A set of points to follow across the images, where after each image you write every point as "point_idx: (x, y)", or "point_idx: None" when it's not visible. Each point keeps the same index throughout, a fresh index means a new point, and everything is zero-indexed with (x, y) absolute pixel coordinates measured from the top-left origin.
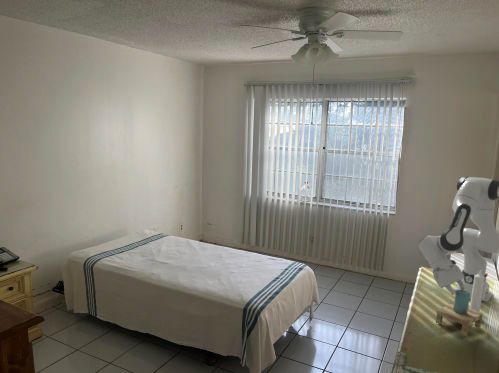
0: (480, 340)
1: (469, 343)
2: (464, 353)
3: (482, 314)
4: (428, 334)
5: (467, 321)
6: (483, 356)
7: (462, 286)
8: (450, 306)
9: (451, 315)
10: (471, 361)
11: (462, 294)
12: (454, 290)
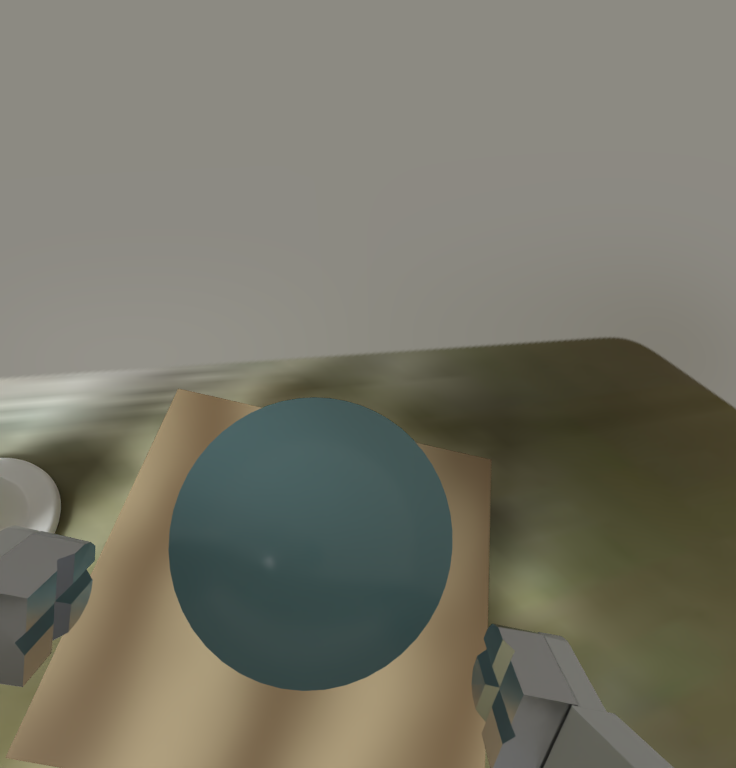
0: (418, 414)
1: (515, 458)
2: (649, 457)
3: (180, 392)
4: (675, 737)
5: (475, 463)
6: (581, 380)
7: (34, 592)
8: (215, 731)
9: (484, 622)
10: (682, 416)
11: (445, 502)
12: (551, 682)
